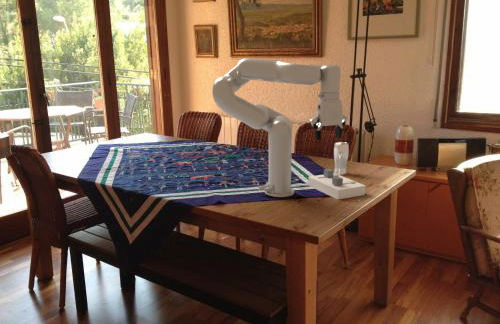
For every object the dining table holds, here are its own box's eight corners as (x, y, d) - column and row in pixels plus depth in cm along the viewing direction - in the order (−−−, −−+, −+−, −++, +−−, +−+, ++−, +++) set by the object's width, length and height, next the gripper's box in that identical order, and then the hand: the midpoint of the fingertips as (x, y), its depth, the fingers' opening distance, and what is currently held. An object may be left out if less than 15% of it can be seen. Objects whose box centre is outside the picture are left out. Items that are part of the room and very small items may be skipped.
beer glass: (347, 175, 220) (349, 145, 217) (332, 174, 222) (334, 144, 218) (347, 171, 227) (348, 142, 223) (333, 171, 228) (334, 141, 225)
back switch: (327, 177, 202) (328, 171, 201) (323, 175, 205) (323, 169, 204) (333, 176, 203) (333, 170, 202) (329, 174, 206) (329, 168, 205)
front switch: (336, 185, 190) (337, 179, 189) (332, 183, 192) (332, 177, 192) (342, 184, 191) (342, 178, 190) (337, 182, 194) (338, 176, 193)
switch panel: (337, 199, 186) (338, 189, 185) (308, 185, 205) (308, 176, 204) (364, 194, 192) (365, 185, 191) (333, 181, 211) (334, 172, 210)
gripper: (316, 98, 175) (314, 142, 179) (353, 96, 182) (351, 138, 186) (306, 96, 182) (305, 138, 186) (342, 94, 189) (340, 135, 193)
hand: (328, 138), depth 186 cm, fingers open, 9 cm apart
